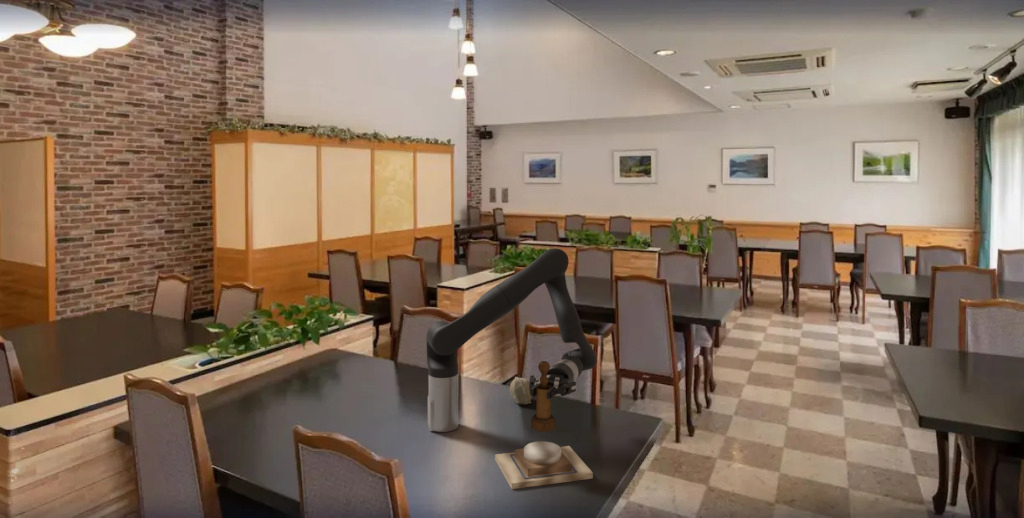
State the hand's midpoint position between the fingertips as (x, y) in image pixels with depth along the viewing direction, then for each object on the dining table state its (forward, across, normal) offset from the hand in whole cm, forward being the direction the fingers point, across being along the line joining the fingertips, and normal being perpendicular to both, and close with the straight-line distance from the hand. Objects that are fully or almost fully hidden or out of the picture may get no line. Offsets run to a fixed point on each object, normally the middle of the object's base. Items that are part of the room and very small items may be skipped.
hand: (540, 394), depth 158 cm
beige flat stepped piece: (-2, 0, +22) cm, 22 cm away
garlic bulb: (-47, -25, +22) cm, 57 cm away
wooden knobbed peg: (-3, 0, +10) cm, 11 cm away
